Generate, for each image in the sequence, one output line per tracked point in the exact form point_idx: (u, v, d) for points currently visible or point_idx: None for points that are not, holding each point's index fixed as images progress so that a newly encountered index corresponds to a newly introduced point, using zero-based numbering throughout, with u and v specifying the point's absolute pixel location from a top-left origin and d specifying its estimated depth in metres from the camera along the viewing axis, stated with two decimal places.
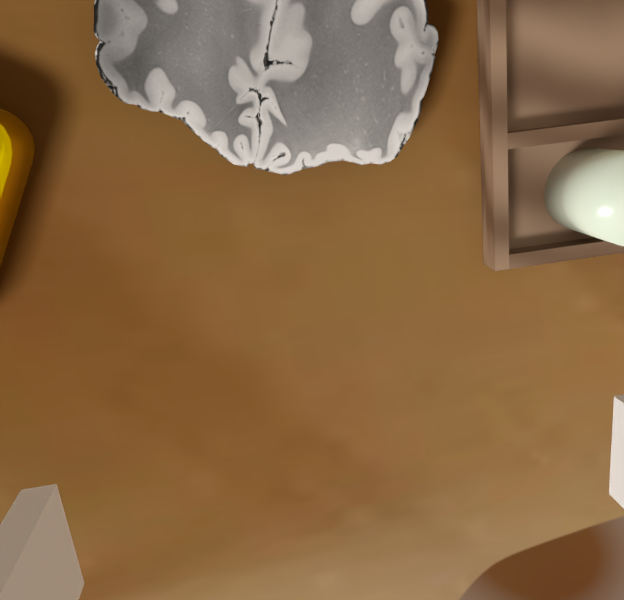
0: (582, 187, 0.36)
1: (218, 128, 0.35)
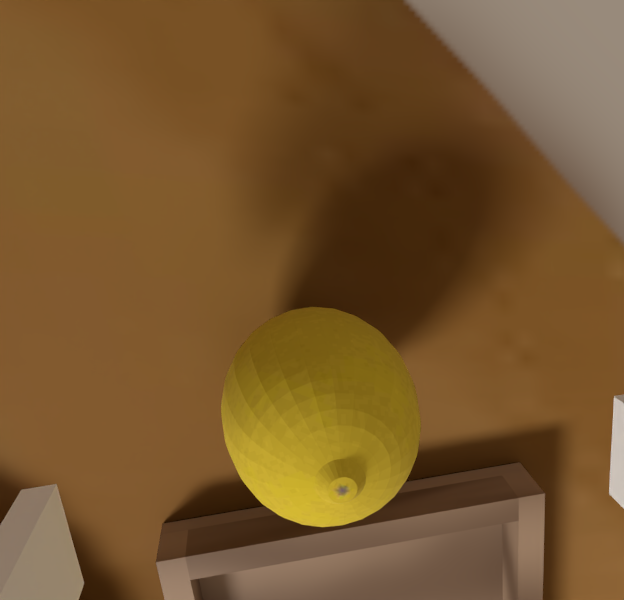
0: None
1: None
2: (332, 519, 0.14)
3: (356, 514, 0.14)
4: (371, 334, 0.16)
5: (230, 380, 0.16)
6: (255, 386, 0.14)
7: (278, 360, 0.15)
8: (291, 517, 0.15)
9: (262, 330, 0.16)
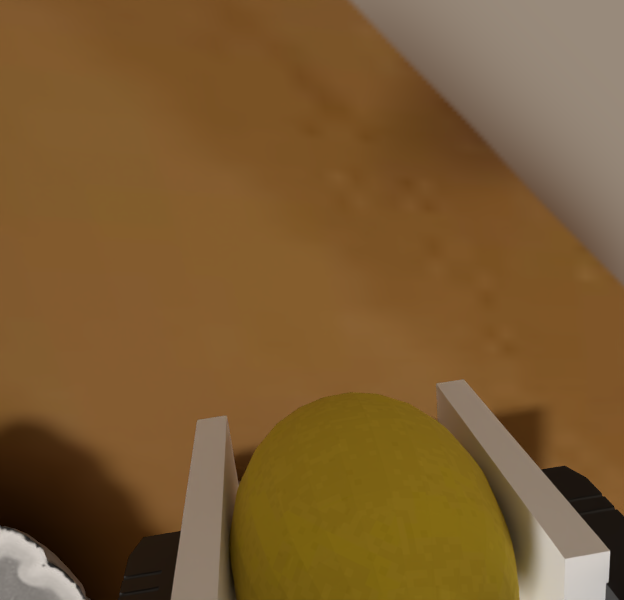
0: None
1: None
2: None
3: None
4: (444, 445, 0.11)
5: (243, 509, 0.11)
6: (281, 537, 0.10)
7: (315, 496, 0.10)
8: None
9: (288, 433, 0.12)
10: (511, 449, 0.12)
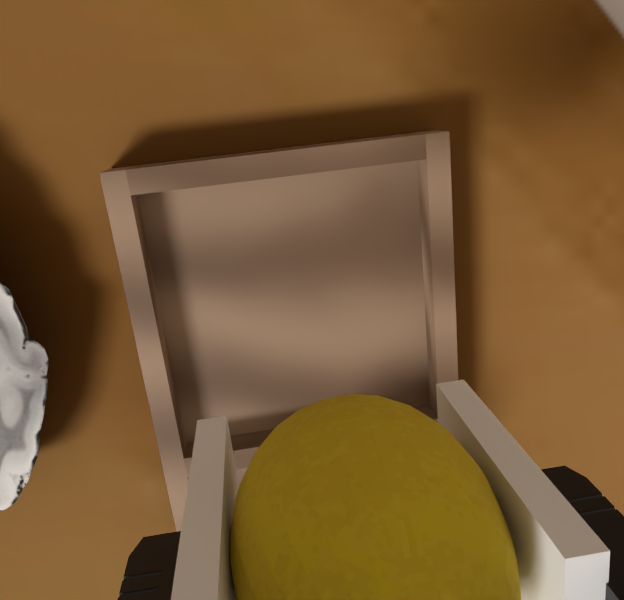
0: None
1: None
2: None
3: None
4: (445, 447, 0.11)
5: (243, 512, 0.11)
6: (282, 539, 0.10)
7: (316, 499, 0.10)
8: None
9: (288, 435, 0.12)
10: (511, 449, 0.12)
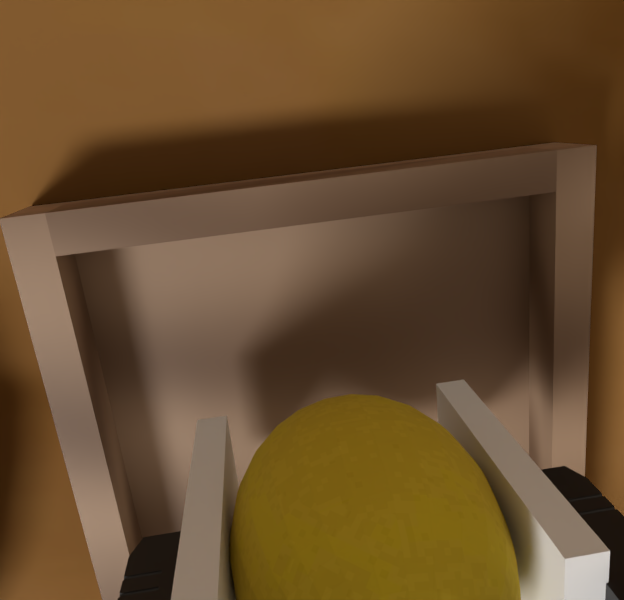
0: None
1: None
2: None
3: None
4: (446, 447, 0.11)
5: (243, 512, 0.11)
6: (281, 539, 0.10)
7: (316, 499, 0.10)
8: None
9: (288, 435, 0.12)
10: (511, 449, 0.12)
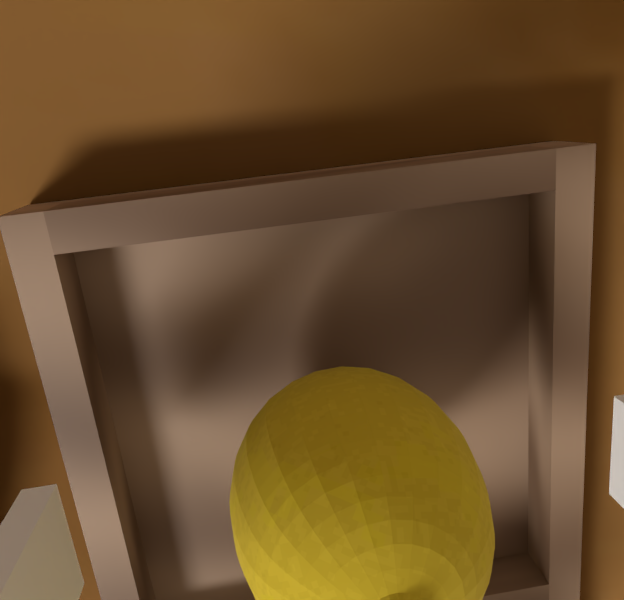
0: None
1: None
2: None
3: None
4: (425, 406, 0.12)
5: (241, 468, 0.12)
6: (277, 483, 0.11)
7: (307, 447, 0.11)
8: None
9: (282, 400, 0.13)
10: None
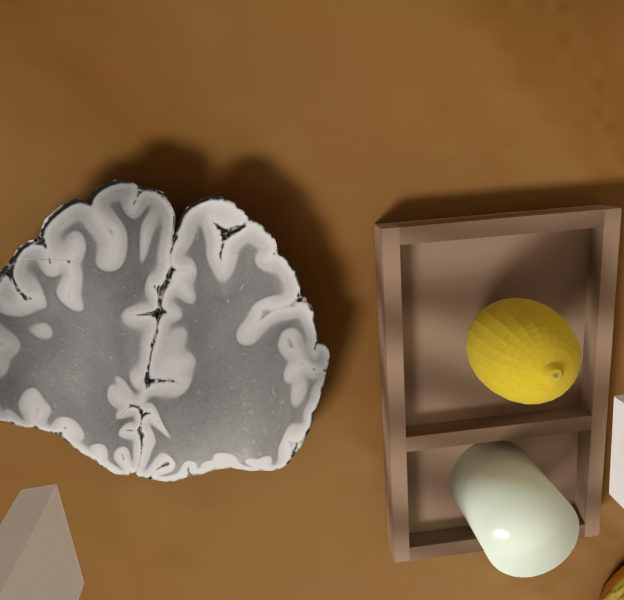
0: (477, 510, 0.34)
1: (97, 441, 0.34)
2: (543, 394, 0.30)
3: (555, 392, 0.30)
4: (553, 310, 0.32)
5: (481, 331, 0.32)
6: (505, 331, 0.30)
7: (515, 319, 0.30)
8: (521, 394, 0.30)
9: (494, 307, 0.32)
10: None
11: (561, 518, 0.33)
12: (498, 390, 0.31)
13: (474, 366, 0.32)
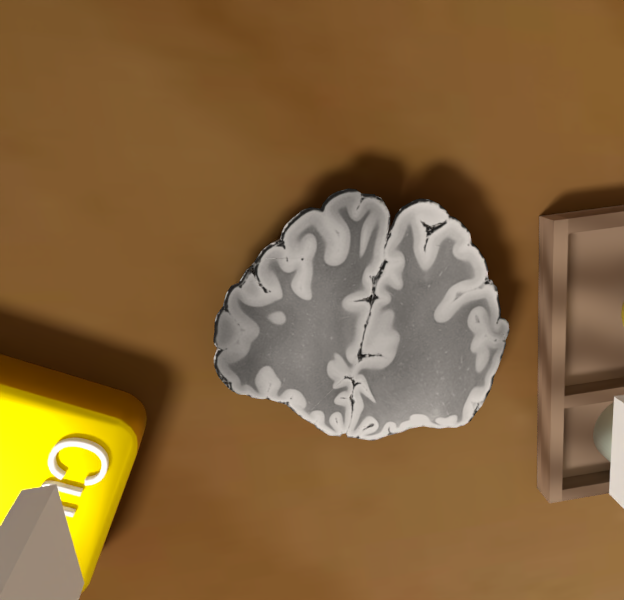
0: None
1: (317, 408, 0.40)
2: None
3: None
4: None
5: None
6: None
7: None
8: None
9: None
10: None
11: None
12: None
13: None
